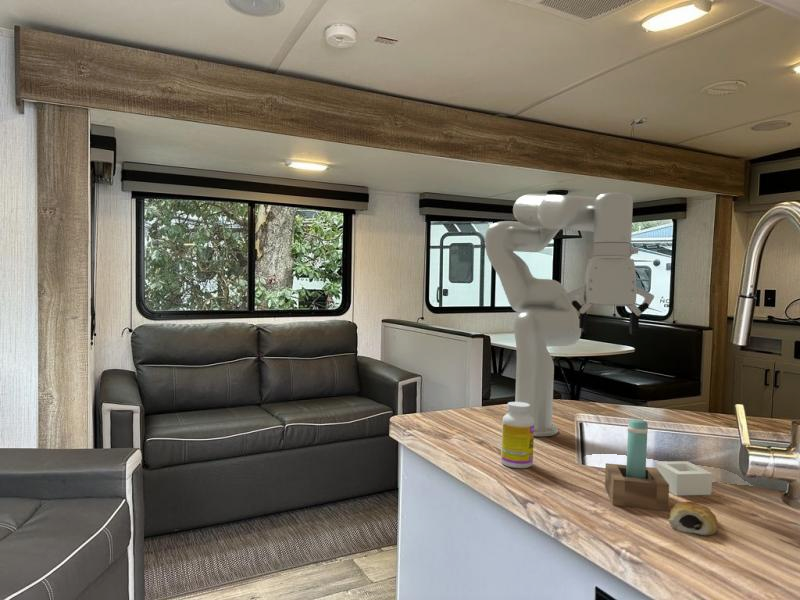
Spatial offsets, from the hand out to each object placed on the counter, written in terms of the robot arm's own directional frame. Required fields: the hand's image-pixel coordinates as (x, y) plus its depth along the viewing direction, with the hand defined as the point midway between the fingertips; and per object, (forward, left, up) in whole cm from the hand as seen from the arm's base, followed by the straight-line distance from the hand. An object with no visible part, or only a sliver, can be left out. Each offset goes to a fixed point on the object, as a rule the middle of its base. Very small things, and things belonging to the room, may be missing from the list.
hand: (608, 333), depth 118 cm
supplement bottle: (+5, -18, -28) cm, 34 cm away
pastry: (+27, +10, -29) cm, 41 cm away
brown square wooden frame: (+18, +3, -28) cm, 34 cm away
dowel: (+18, +3, -28) cm, 34 cm away
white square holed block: (+10, +13, -28) cm, 33 cm away
